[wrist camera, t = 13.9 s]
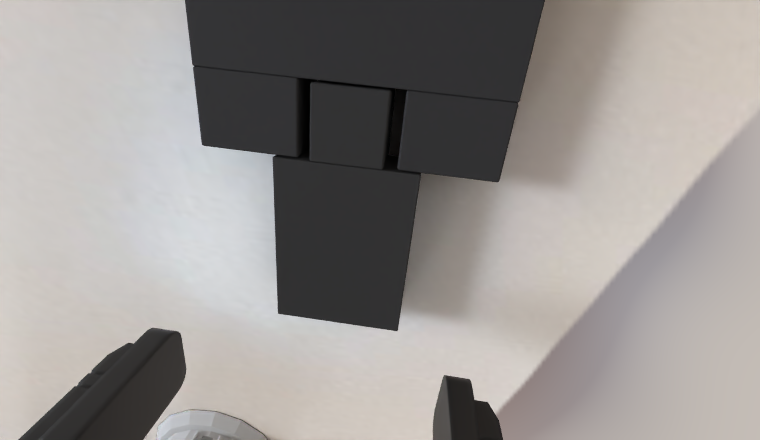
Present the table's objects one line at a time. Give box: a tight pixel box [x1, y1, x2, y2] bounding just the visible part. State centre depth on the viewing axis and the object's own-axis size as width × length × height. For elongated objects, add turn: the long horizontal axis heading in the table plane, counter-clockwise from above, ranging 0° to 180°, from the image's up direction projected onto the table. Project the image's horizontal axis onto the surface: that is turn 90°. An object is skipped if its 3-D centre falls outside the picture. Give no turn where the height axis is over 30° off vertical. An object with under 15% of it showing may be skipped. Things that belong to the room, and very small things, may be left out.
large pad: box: [185, 0, 545, 182], centre depth 13 cm, size 10×12×2 cm
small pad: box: [273, 80, 421, 331], centre depth 17 cm, size 11×6×2 cm, turn 175°
